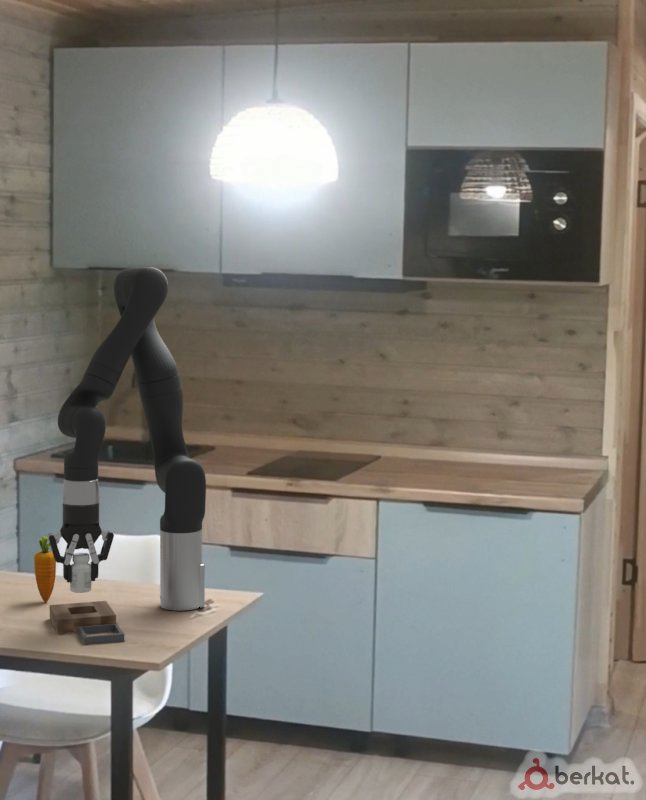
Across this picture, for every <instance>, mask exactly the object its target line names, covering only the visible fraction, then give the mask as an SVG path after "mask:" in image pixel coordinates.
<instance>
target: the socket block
mask: <svg viewBox="0 0 646 800" xmlns="http://www.w3.org/2000/svg"><path fill="white" fill-rule="evenodd" d="M49 621H50V622H51V624H52V626H53V629H54V630H55V632H56V633H57V635H65V634H78V627H80V626H93V625H105V624H117V615H116V613H115V611H114V610H113V608H112V607H111V606H110V605H109V603H108V601H106V600H98V601H97V600H96V601H85V602H71V603H60V604H58V603H57V604H49Z"/></svg>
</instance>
